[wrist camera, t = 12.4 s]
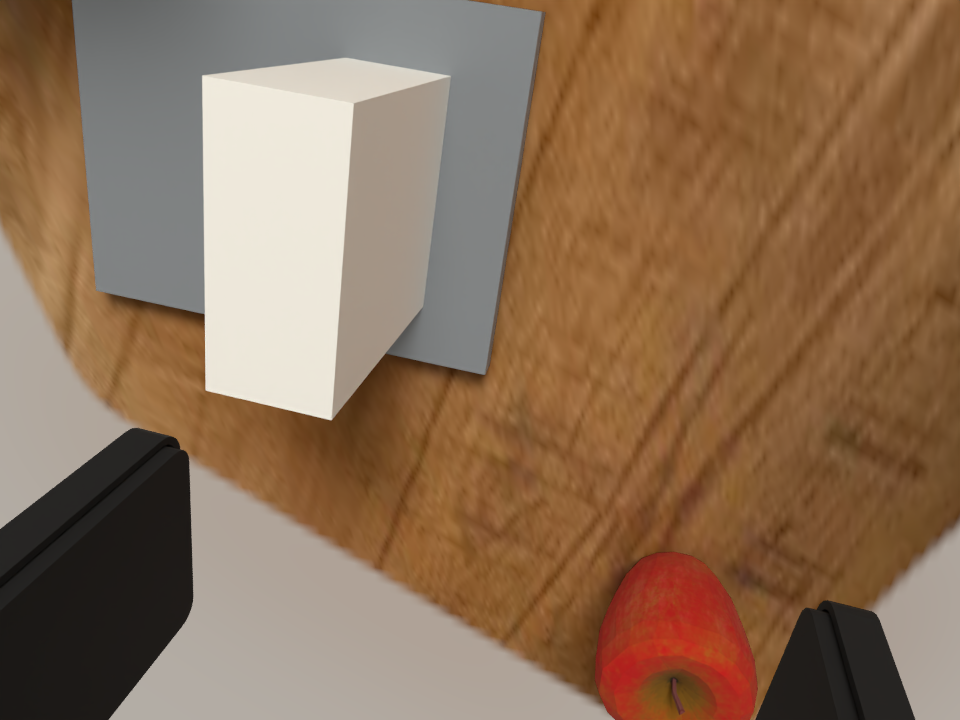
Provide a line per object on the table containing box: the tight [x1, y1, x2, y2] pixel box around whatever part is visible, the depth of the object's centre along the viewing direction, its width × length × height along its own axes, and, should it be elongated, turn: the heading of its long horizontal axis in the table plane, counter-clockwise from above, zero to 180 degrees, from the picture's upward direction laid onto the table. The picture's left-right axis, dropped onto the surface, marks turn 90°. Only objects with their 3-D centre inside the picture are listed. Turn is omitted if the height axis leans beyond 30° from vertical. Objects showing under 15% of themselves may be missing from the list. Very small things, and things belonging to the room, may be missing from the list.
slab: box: [202, 58, 451, 420], centre depth 25 cm, size 4×9×10 cm, turn 172°
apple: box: [595, 552, 758, 720], centre depth 32 cm, size 6×6×8 cm
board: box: [72, 0, 545, 375], centre depth 31 cm, size 18×14×1 cm
